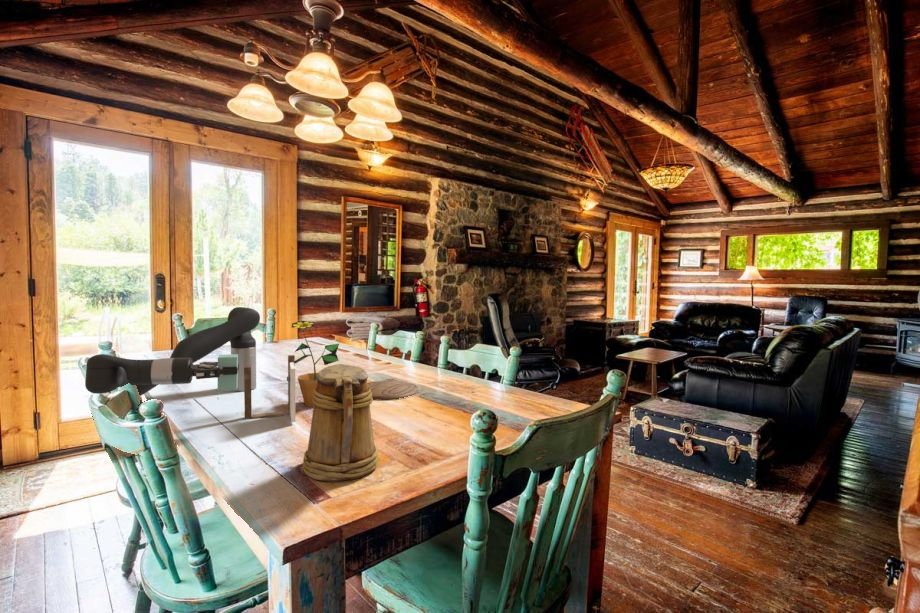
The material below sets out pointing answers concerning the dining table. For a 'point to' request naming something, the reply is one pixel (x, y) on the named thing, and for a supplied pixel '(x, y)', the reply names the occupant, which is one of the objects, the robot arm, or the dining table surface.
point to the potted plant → (310, 380)
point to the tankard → (341, 426)
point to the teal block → (228, 380)
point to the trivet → (392, 389)
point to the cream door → (292, 391)
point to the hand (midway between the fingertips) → (237, 368)
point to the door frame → (248, 394)
